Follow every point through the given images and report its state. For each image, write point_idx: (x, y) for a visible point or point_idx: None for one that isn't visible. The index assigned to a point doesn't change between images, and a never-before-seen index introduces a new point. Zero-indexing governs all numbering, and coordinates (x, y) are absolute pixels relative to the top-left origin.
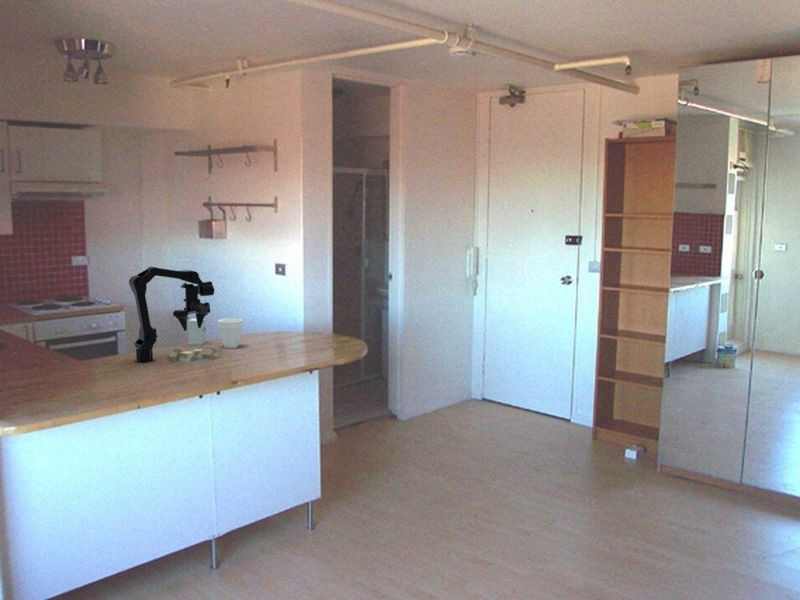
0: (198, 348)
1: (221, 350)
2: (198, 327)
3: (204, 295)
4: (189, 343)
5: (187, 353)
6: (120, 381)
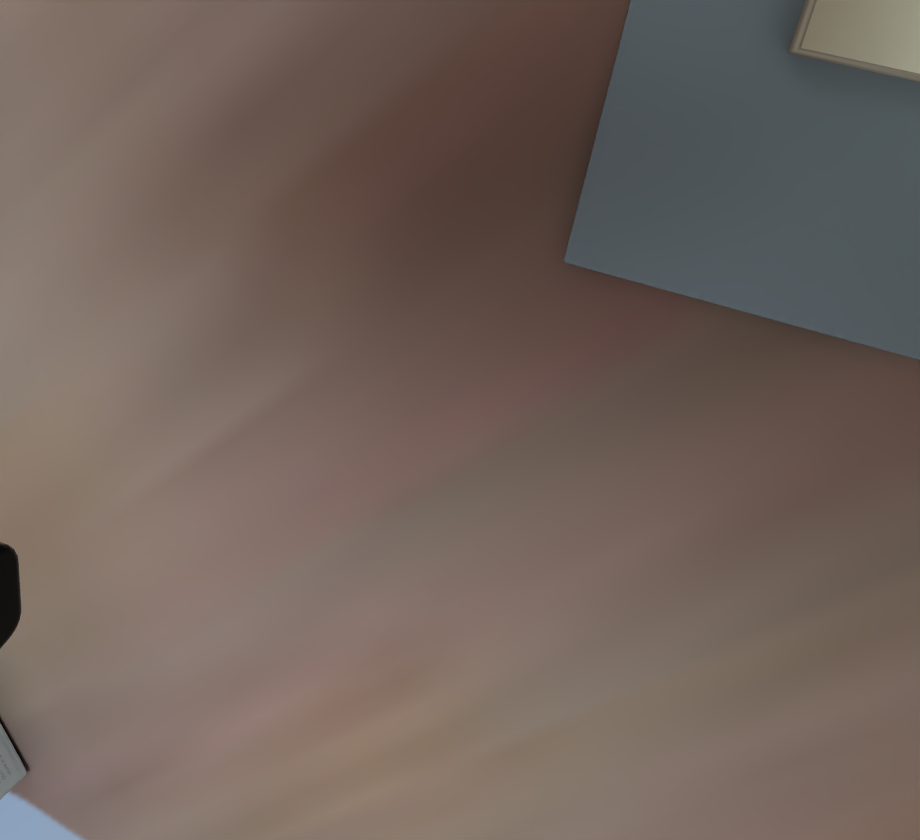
0: (857, 48)
1: (25, 42)
2: (5, 635)
3: None
4: (9, 777)
5: None
6: None
